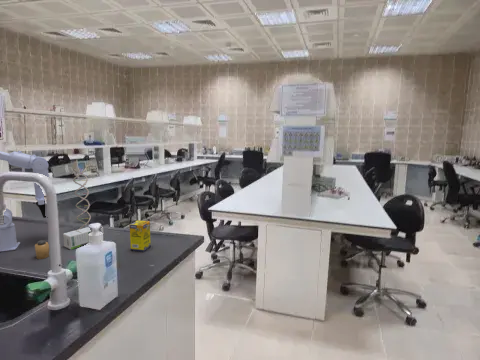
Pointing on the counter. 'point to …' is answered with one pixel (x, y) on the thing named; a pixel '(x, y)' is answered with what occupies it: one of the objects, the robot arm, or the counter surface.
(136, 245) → the supplement box
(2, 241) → the robot arm
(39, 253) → the amber bottle
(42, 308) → the counter surface
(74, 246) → the syrup box
